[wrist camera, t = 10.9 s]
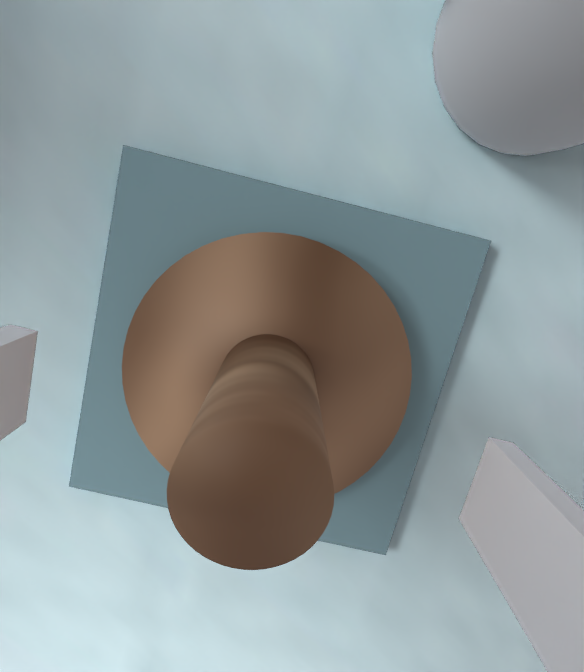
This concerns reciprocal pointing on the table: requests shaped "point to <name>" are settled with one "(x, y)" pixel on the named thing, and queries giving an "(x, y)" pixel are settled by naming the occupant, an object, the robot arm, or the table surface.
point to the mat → (279, 217)
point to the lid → (264, 390)
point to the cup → (513, 72)
